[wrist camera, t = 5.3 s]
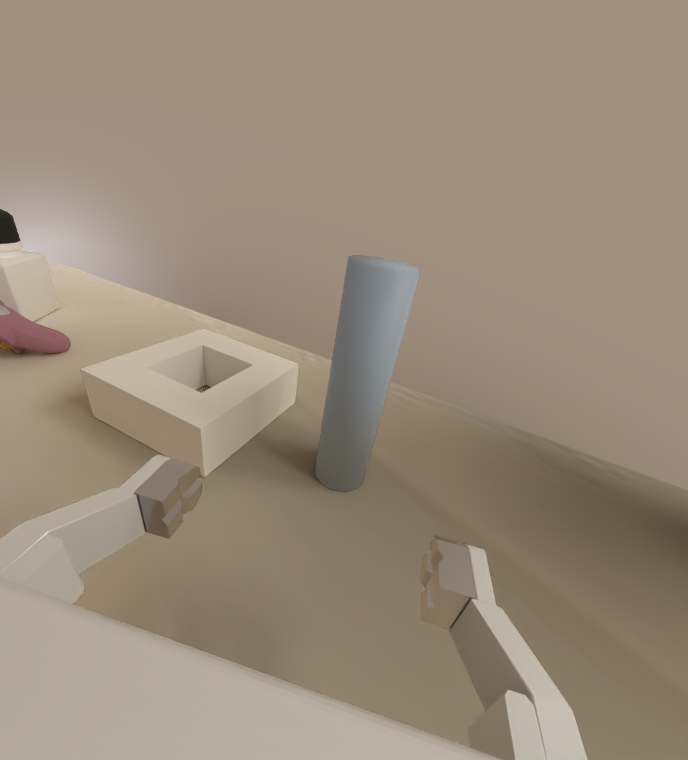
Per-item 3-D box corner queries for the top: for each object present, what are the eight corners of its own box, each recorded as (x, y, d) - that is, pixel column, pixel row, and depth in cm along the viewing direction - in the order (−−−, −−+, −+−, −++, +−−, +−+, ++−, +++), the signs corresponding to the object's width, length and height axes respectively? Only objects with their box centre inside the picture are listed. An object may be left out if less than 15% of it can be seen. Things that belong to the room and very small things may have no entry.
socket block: (295, 402, 32) (299, 363, 30) (204, 477, 22) (200, 428, 20) (205, 365, 36) (203, 328, 34) (93, 416, 26) (80, 368, 24)
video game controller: (-17, 347, 35) (-90, 296, 29) (23, 321, 37) (-37, 269, 31) (40, 376, 32) (-28, 326, 26) (79, 345, 34) (24, 294, 29)
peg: (374, 478, 25) (434, 273, 17) (334, 499, 23) (383, 272, 15) (344, 447, 28) (384, 256, 20) (305, 463, 25) (333, 253, 17)
